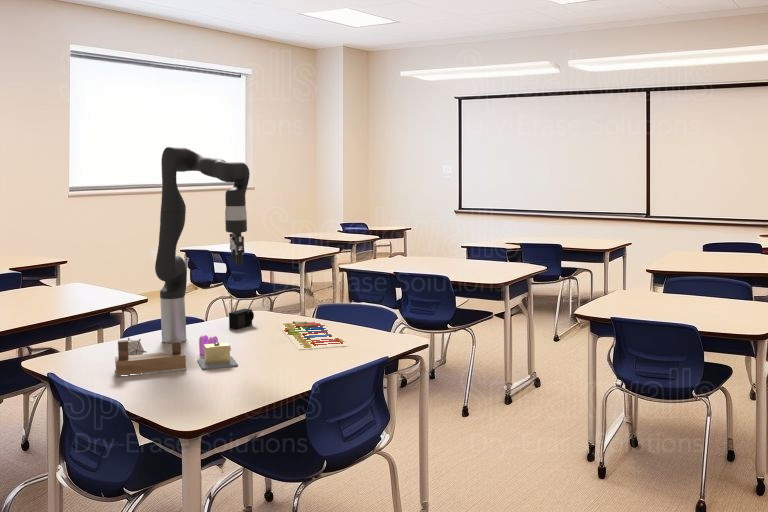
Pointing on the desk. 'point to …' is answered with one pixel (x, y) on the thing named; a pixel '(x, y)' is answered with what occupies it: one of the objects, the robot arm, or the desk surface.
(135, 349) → the game die
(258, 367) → the desk surface
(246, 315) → the digital camera
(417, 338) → the desk surface
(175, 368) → the plane body
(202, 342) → the bracket
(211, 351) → the lever cap
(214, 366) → the mat
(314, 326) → the gear board
